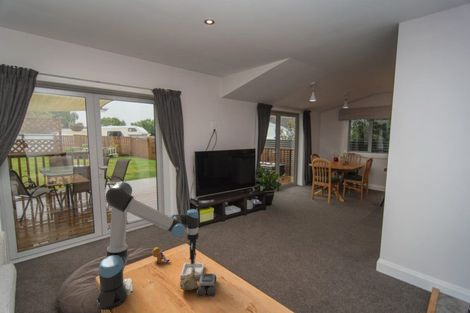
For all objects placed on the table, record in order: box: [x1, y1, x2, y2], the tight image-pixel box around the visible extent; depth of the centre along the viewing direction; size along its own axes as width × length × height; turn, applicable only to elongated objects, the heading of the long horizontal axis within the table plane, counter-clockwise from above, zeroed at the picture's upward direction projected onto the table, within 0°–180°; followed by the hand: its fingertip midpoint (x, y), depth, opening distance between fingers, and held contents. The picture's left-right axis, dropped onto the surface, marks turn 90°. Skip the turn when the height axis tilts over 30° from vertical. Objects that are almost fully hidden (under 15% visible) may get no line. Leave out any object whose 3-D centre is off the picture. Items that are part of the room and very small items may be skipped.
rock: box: [179, 272, 198, 291], centre depth 136 cm, size 12×10×10 cm
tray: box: [179, 262, 205, 281], centre depth 152 cm, size 14×14×3 cm
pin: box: [191, 252, 197, 273], centre depth 152 cm, size 4×4×12 cm
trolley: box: [196, 273, 217, 298], centre depth 137 cm, size 11×14×8 cm
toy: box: [151, 246, 171, 264], centre depth 164 cm, size 14×8×15 cm
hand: (192, 265), depth 152 cm, fingers closed on pin, 3 cm apart
